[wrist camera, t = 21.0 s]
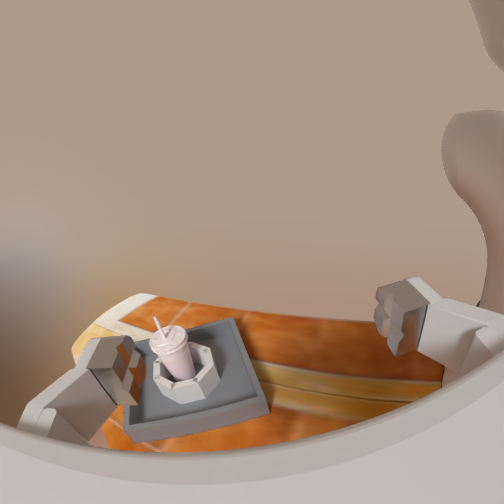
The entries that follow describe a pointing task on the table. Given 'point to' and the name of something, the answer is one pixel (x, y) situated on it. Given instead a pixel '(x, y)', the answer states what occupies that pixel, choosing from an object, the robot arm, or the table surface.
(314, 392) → the table surface
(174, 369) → the smoothie
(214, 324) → the tray
